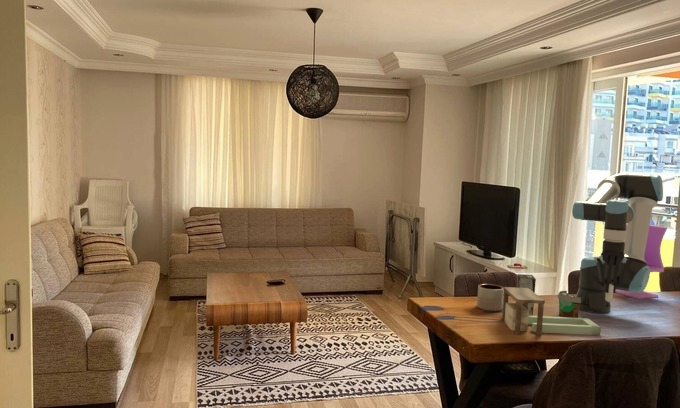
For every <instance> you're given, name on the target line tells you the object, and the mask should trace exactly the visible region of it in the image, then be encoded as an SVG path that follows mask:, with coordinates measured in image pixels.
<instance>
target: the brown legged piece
mask: <svg viewBox="0 0 680 408" xmlns="http://www.w3.org/2000/svg"><path fill="white" fill-rule="evenodd" d="M503 288H504V289H503V290H504V293H503V309H502V314H501V315H502V317H501V318H502V321H505V308H506V303H509V297H511V298H512V299H513V300H514V301H515V303H516V302H517V307H516V321H515V330H514V334H515V335H521V331H520V326H521V312H522V303H523V306H524V307H525V308H526V309H528V303H534V304H538V305H537V315H536V316H537V329H536V332H535V335H537V336H542V333H543V332H542V322H543V316H544V310H545V309H544V308H545V307H544V306H545V300H544V298H542V297H541V296H539V295H538V294H537V293H536V292H535V293H534V292H533V291H531V290H530V289H529V288H517V287H512V286H510V287H509V286H508V287H507V286H503Z"/></svg>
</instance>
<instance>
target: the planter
mask: <svg viewBox="0 0 680 408" xmlns="http://www.w3.org/2000/svg"><path fill="white" fill-rule="evenodd" d="M477 287H478V288H477V300H476V301H477V302H476V307H477V308H478V309H480V310H483V311H487V312H498V311H499V312H500V311H501V310H502V311H503V299H504V290H503V289H504V286H501V285H498V284H492V283H481V284H478V286H477Z"/></svg>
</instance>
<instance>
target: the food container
mask: <svg viewBox="0 0 680 408" xmlns="http://www.w3.org/2000/svg"><path fill="white" fill-rule="evenodd" d="M567 292H568V291H567V290H560V291H559V292H558V293H557V297H556V298H558V317H572V318H579V314H580V313H579V312H580V309H579V306H580V303H581V298H579V297H576V295H574V294H570V293H567Z"/></svg>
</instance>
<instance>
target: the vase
mask: <svg viewBox="0 0 680 408" xmlns="http://www.w3.org/2000/svg"><path fill="white" fill-rule="evenodd" d="M626 228H627V224H626ZM667 229H668V227H667V226H666V227H665V226H662V225H661V226H660V225H653V224H650V225H649V231H648V237H647V243H646V248H645V254H644V260H645V261H646V262H647V266H648V267H649V268H650V273H664V272H665V267H664V263H663V260H662V255H661V245H662V242H663V239H664V236H665V234H666V231H667ZM623 242H624V241H623ZM615 293H616V294H619V295H621V296H622V295H623V296H626V297H629V298H633V299H637V300H645V299H646V298H647V299H654V298H659V294H656V293H652V292H650V291H649V292H648V291H645V290H644V291H643V292H641V293H636V292H629V291H623V290H617V289H616V290H615ZM615 293H614V294H615Z"/></svg>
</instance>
